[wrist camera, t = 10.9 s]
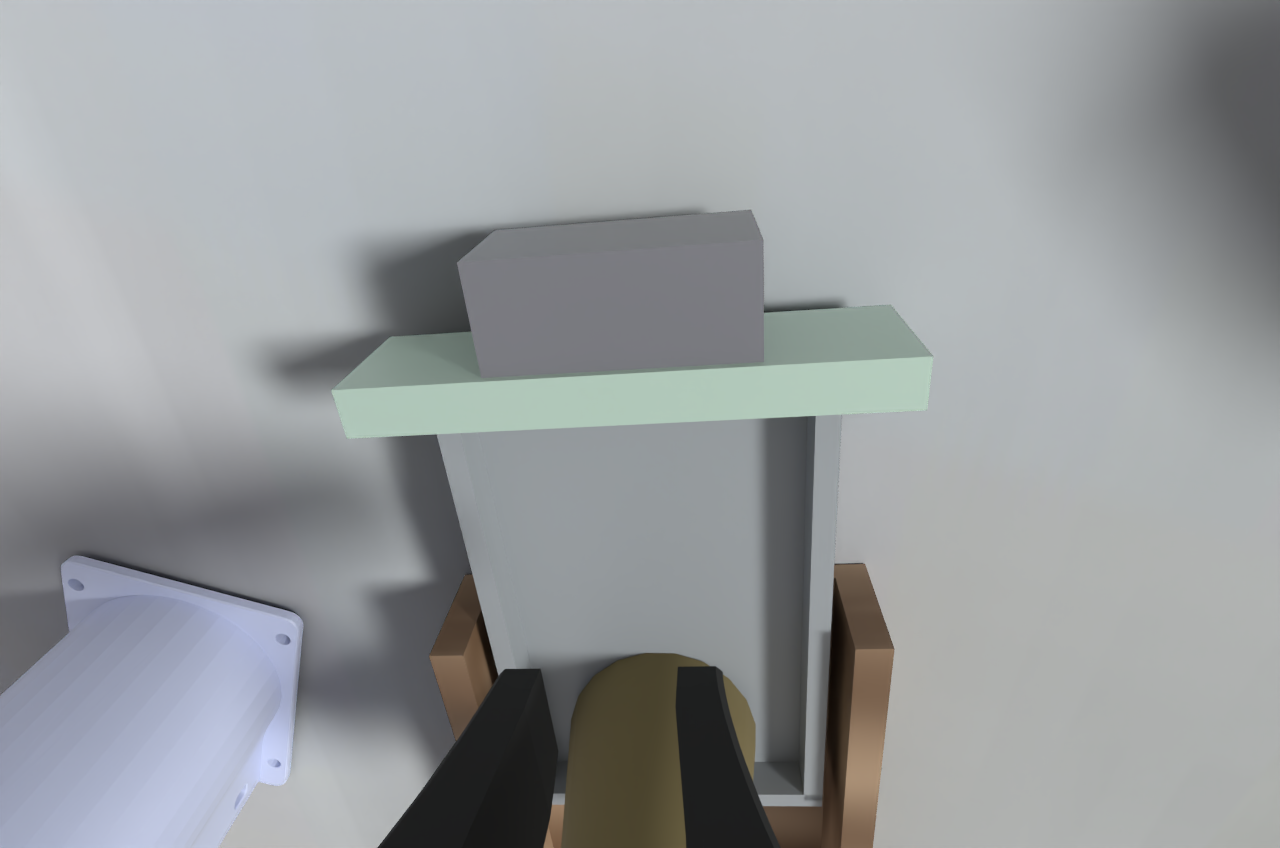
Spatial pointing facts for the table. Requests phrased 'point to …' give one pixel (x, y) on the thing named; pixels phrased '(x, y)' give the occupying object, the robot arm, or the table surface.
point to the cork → (634, 755)
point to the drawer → (648, 460)
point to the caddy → (855, 724)
